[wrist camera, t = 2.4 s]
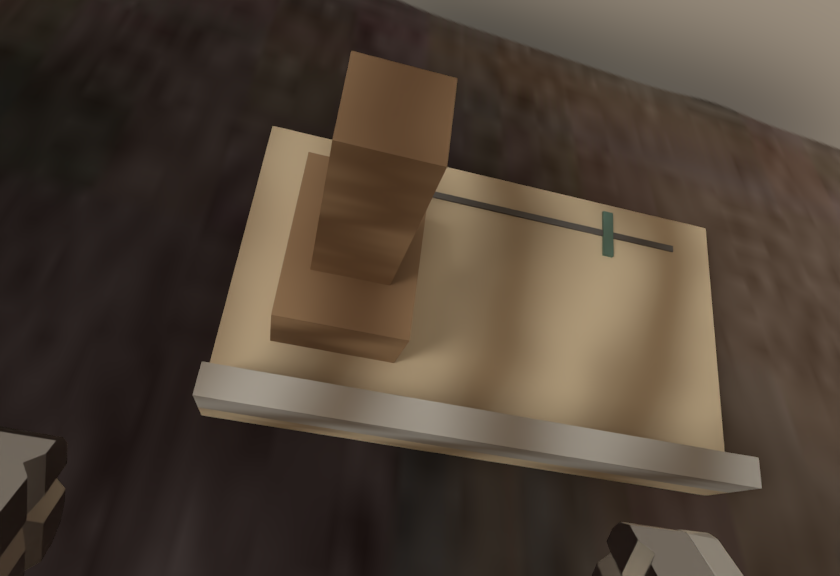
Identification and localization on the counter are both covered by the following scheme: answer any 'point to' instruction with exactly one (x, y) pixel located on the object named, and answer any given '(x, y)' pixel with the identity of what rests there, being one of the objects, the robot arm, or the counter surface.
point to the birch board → (500, 338)
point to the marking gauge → (366, 214)
